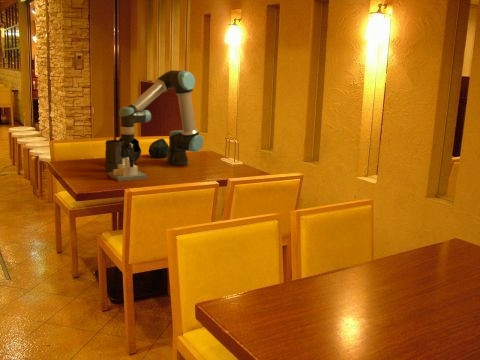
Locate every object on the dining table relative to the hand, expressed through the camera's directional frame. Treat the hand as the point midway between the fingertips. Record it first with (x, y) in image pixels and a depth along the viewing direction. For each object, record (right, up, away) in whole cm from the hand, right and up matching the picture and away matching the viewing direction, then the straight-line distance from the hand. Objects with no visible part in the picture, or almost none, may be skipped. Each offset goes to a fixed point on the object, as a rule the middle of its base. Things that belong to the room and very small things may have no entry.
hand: (127, 170), depth 300 cm
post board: (0, -4, +1) cm, 4 cm away
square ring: (-2, -2, -1) cm, 3 cm away
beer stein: (-11, 0, +17) cm, 20 cm away
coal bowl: (-9, +4, +36) cm, 38 cm away
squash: (+8, +11, +67) cm, 68 cm away
